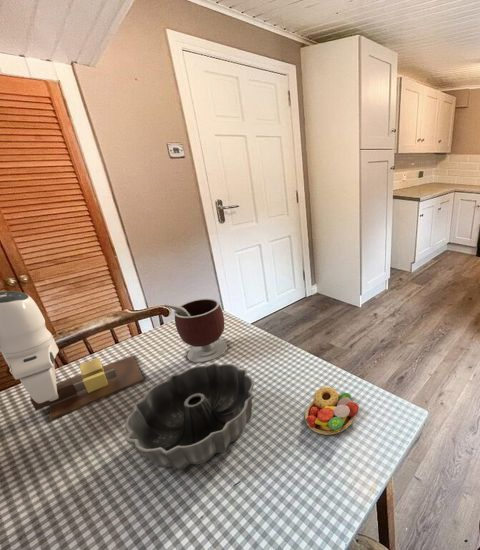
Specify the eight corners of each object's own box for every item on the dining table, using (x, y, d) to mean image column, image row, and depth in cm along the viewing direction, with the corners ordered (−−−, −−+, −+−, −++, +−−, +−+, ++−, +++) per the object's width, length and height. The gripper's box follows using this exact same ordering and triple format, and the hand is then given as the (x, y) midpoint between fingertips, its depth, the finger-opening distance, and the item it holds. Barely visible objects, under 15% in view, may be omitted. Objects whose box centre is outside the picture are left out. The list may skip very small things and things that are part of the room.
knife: (35, 410, 78) (30, 400, 77) (35, 406, 79) (30, 396, 78) (117, 377, 89) (113, 368, 88) (116, 374, 91) (112, 365, 89)
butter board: (51, 421, 77) (43, 406, 75) (49, 389, 87) (42, 375, 86) (144, 381, 90) (139, 367, 88) (133, 358, 101) (128, 345, 99)
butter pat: (88, 393, 85) (83, 381, 83) (87, 390, 86) (82, 379, 84) (108, 384, 88) (103, 373, 86) (107, 382, 89) (103, 371, 87)
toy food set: (321, 391, 86) (321, 382, 85) (364, 403, 82) (364, 394, 80) (295, 428, 75) (294, 418, 73) (344, 445, 70) (343, 435, 69)
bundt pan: (205, 503, 59) (194, 467, 55) (107, 465, 66) (91, 432, 62) (279, 403, 82) (275, 373, 78) (201, 383, 89) (194, 355, 86)
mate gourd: (229, 336, 112) (219, 287, 105) (230, 357, 100) (218, 304, 93) (182, 346, 106) (167, 295, 99) (176, 370, 95) (160, 314, 87)
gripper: (15, 341, 80) (37, 382, 85) (11, 378, 67) (37, 424, 72) (48, 331, 84) (67, 371, 90) (51, 364, 71) (73, 409, 76)
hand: (54, 395), depth 81 cm, fingers closed on knife, 2 cm apart
